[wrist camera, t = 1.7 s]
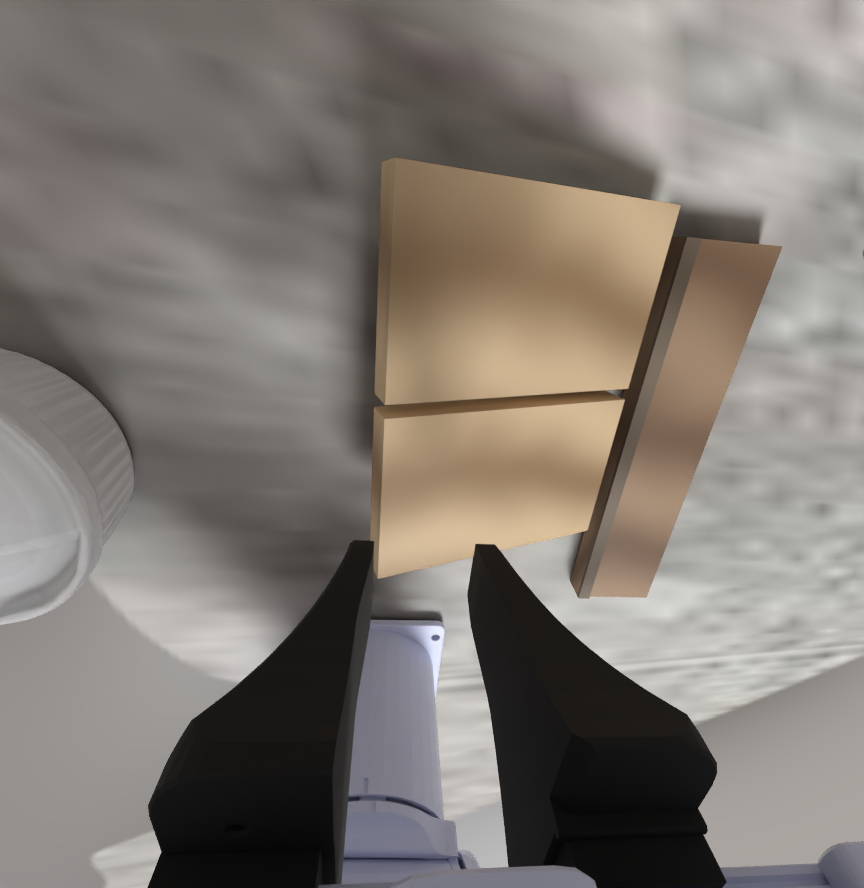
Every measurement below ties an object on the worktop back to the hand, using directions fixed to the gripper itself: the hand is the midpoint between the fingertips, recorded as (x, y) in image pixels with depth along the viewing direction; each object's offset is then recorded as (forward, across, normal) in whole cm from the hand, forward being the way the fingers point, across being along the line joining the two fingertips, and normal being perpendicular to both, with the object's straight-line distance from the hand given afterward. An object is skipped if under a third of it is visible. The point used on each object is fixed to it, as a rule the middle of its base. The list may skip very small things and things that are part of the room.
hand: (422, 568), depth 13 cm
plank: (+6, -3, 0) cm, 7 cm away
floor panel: (+8, -12, -1) cm, 14 cm away
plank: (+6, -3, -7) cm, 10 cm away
